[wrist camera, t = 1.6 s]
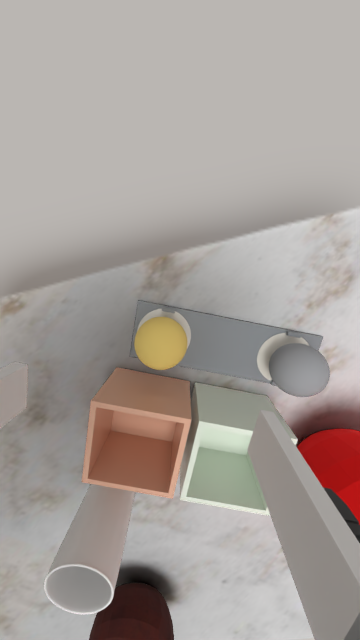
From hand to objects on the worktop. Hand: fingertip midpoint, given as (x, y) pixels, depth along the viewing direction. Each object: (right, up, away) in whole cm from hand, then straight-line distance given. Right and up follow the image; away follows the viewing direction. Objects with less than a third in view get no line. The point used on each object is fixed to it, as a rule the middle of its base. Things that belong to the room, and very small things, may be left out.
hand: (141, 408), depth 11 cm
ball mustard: (0, +2, +11) cm, 12 cm away
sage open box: (+8, -10, +17) cm, 21 cm away
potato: (-5, -43, +25) cm, 50 cm away
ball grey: (+16, -1, +12) cm, 20 cm away
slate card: (+8, +2, +15) cm, 17 cm away
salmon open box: (-3, -7, +17) cm, 19 cm away
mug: (-7, -20, +20) cm, 29 cm away
